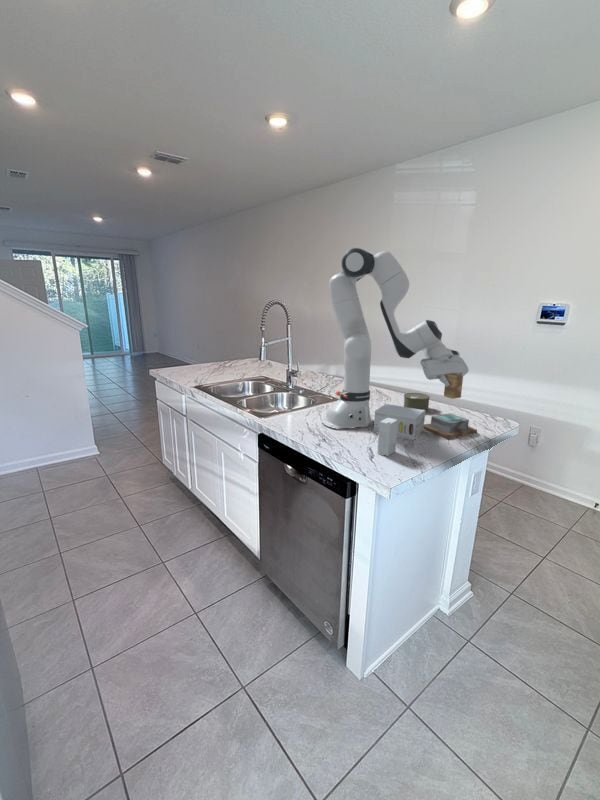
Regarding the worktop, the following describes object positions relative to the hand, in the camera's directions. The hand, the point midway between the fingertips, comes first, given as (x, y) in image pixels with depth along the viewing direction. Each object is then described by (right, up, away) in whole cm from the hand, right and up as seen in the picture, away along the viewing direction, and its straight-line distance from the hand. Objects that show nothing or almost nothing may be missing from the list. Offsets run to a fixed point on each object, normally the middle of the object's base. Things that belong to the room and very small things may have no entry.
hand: (454, 385), depth 145 cm
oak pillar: (0, -5, +2) cm, 5 cm away
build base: (0, -19, +5) cm, 19 cm away
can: (-4, -11, +36) cm, 38 cm away
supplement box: (-21, -19, +5) cm, 29 cm away
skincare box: (-31, -25, -16) cm, 43 cm away
